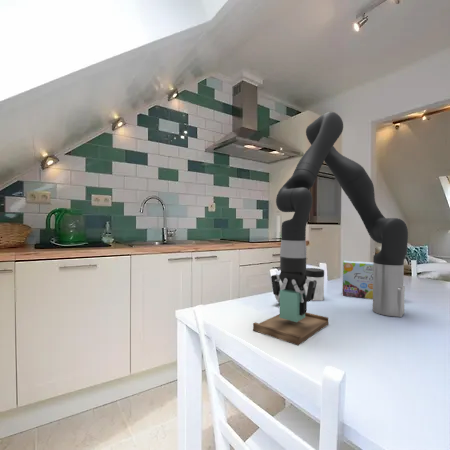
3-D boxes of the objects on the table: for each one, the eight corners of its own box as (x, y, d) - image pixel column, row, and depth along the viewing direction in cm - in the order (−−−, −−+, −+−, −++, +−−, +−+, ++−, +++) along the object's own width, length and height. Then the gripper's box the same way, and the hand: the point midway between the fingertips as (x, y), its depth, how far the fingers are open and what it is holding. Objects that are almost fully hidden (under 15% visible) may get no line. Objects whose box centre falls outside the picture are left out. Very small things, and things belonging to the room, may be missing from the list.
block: (305, 317, 81) (305, 290, 81) (296, 322, 77) (297, 293, 77) (288, 313, 84) (288, 287, 84) (279, 317, 80) (279, 290, 80)
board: (328, 324, 83) (328, 317, 83) (298, 345, 68) (298, 337, 68) (287, 313, 93) (287, 307, 93) (253, 330, 78) (253, 323, 78)
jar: (307, 301, 109) (308, 271, 109) (299, 295, 117) (299, 268, 117) (328, 300, 110) (329, 271, 110) (319, 295, 118) (319, 267, 118)
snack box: (342, 296, 117) (343, 261, 117) (342, 293, 122) (342, 260, 122) (400, 302, 109) (400, 264, 109) (397, 298, 114) (397, 263, 114)
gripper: (321, 256, 78) (321, 314, 78) (278, 252, 88) (277, 304, 88) (310, 258, 73) (310, 321, 73) (265, 254, 82) (265, 310, 82)
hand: (292, 312), depth 80 cm, fingers closed on block, 5 cm apart
